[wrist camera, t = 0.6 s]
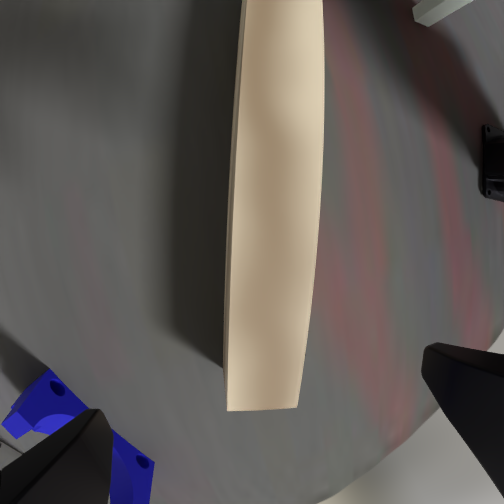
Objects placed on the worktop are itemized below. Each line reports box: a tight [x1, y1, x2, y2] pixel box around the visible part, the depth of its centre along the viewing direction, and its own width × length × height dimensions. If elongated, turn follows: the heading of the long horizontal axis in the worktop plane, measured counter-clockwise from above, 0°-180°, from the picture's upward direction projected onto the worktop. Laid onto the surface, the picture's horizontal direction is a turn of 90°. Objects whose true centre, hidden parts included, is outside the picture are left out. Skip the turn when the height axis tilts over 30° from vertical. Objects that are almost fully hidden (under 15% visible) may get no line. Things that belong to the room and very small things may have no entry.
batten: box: [223, 0, 324, 411], centre depth 16 cm, size 4×25×5 cm, turn 176°
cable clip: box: [2, 368, 155, 504], centre depth 17 cm, size 12×4×6 cm, turn 35°
